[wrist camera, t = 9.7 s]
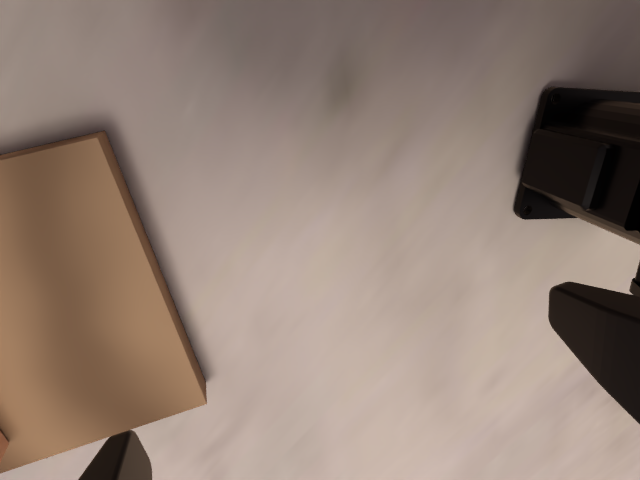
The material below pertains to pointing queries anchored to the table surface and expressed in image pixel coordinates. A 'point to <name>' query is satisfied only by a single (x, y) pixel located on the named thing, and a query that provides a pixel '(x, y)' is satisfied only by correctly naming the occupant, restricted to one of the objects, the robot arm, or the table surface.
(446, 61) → the table surface
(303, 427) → the table surface
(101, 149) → the board
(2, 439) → the tile
